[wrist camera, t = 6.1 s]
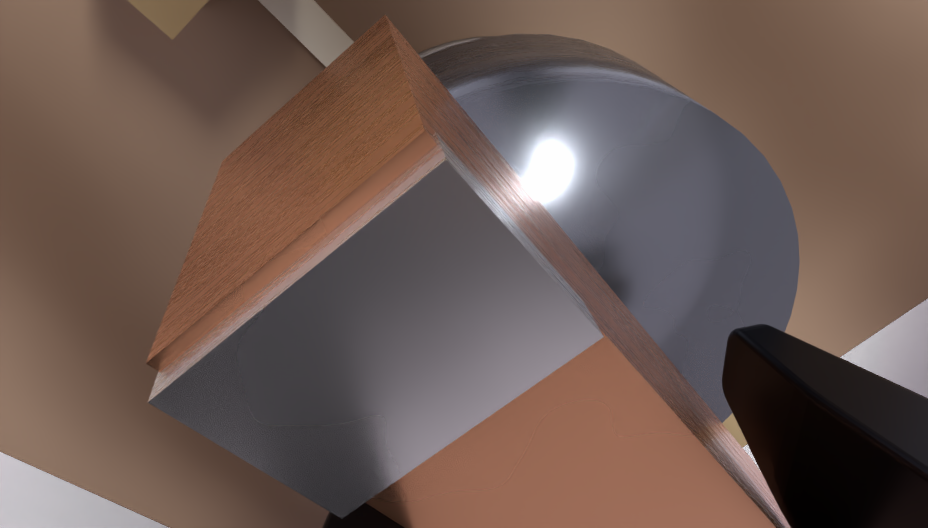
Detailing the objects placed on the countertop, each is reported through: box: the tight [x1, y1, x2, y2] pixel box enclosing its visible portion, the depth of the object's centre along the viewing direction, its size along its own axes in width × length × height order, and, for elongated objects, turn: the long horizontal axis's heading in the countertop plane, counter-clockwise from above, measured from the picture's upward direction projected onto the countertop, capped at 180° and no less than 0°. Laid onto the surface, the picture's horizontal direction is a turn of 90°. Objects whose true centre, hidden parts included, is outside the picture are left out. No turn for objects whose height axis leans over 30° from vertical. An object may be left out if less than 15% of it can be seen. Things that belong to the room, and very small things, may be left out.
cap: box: [146, 15, 800, 528], centre depth 8 cm, size 9×7×6 cm
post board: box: [0, 0, 928, 528], centre depth 12 cm, size 22×20×3 cm
